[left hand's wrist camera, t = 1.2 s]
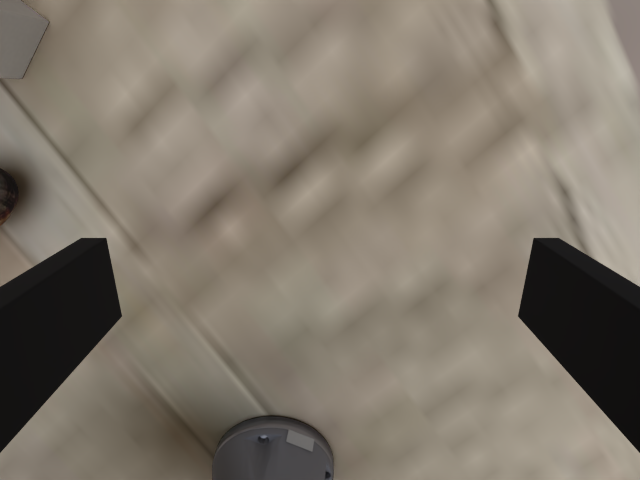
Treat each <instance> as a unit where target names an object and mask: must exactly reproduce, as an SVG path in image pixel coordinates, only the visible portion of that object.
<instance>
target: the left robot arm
mask: <svg viewBox="0 0 640 480" xmlns="http://www.w3.org/2000/svg"><path fill="white" fill-rule="evenodd" d="M121 317H122V314H121V309H120V304H119V299H118V294H117V289H116V284H115V279H114V274H113V269H112V264H111V259H110V254H109V249H108V244H107V239H106V238H81V239H79V240H77V241H76V242H74V243H72V244H71V245H69V246H67V247H66V248H64V249H62V250H61V251H59V252H57V253H56V254H54V255H52V256H51V257H49V258H47V259H46V260H44V261H42V262H41V263H39V264H37V265H36V266H34V267H33V268H31V269H29V270H28V271H26V272H24V273H23V274H21V275H19V276H18V277H16V278H14V279H13V280H11V281H9V282H8V283H6V284H4V285H3V286H1V287H0V452H1V451H2V450H3V449H4V448H5V447H6V446H7V445H8V443H9V442H10V441H11V440H12V439H13V438H14V437H15V436H16V434H17V433H18V432H19V431H20V430H21V429H22V428H23V427H24V425H25V424H26V423H27V422H28V421H29V420H30V419H31V418H32V417H33V415H34V414H35V413H36V412H37V411H38V410H39V409H40V408H41V406H42V405H43V404H44V403H45V402H46V401H47V400H48V399H49V397H50V396H51V395H52V394H53V393H54V392H55V391H56V390H57V388H58V387H59V386H60V385H61V384H62V383H63V382H64V381H65V380H66V378H67V377H68V376H69V375H70V374H71V373H72V372H73V371H74V369H75V368H76V367H77V366H78V365H79V364H80V363H81V362H82V360H83V359H84V358H85V357H86V356H87V355H88V354H89V353H90V351H91V350H92V349H93V348H94V347H95V346H96V345H97V344H98V343H99V341H100V340H101V339H102V338H103V337H104V336H105V335H106V334H107V332H108V331H109V330H110V329H111V328H112V327H113V326H114V325H115V323H116V322H117V321H118V320H119V319H120V318H121ZM518 317H519V318H520V319H521V320H522V321H523V322H524V323H525V325H526V326H527V327H528V328H529V329H530V330H531V331H532V332H533V334H534V335H535V336H536V337H537V338H538V339H539V340H540V341H541V343H542V344H543V345H544V346H545V347H546V348H547V349H548V350H549V351H550V353H551V354H552V355H553V356H554V357H555V358H556V359H557V360H558V362H559V363H560V364H561V365H562V366H563V367H564V368H565V369H566V371H567V372H568V373H569V374H570V375H571V376H572V377H573V378H574V380H575V381H576V382H577V383H578V384H579V385H580V386H581V387H582V388H583V390H584V391H585V392H586V393H587V394H588V395H589V396H590V397H591V399H592V400H593V401H594V402H595V403H596V404H597V405H598V406H599V408H600V409H601V410H602V411H603V412H604V413H605V414H606V415H607V417H608V418H609V419H610V420H611V421H612V422H613V423H614V424H615V426H616V427H617V428H618V429H619V430H620V431H621V432H622V433H623V434H624V436H625V437H626V438H627V439H628V440H629V441H630V442H631V443H632V445H633V446H634V447H635V448H636V449H637V450H638V451H639V452H640V287H639V286H637V285H636V284H634V283H632V282H631V281H629V280H627V279H626V278H624V277H622V276H621V275H619V274H617V273H616V272H614V271H612V270H611V269H609V268H607V267H606V266H604V265H603V264H601V263H599V262H598V261H596V260H594V259H593V258H591V257H589V256H588V255H586V254H584V253H583V252H581V251H579V250H578V249H576V248H574V247H573V246H571V245H569V244H568V243H566V242H564V241H563V240H561V239H559V238H534V239H533V244H532V249H531V254H530V259H529V264H528V269H527V274H526V279H525V284H524V289H523V294H522V299H521V304H520V309H519V314H518ZM333 475H334V470H333V455H332V451H331V449H330V447H329V445H328V443H327V441H326V440H325V439H324V438H323V436H322V435H321V434H319V433H318V432H317V431H316V430H315V429H313V428H312V427H310V426H308V425H306V424H304V423H302V422H299V421H297V420H293V419H290V418H285V417H274V416H269V417H258V418H254V419H250V420H247V421H244V422H242V423H240V424H238V425H236V426H234V427H233V428H232V429H230V430H229V431H228V432H227V433H226V434H225V435H224V436H223V437H222V439H221V440H220V442H219V444H218V446H217V450H216V453H215V456H214V460H213V464H212V477H213V480H333Z"/></svg>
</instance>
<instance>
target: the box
mask: <svg viewBox="0 0 640 480" xmlns="http://www.w3.org/2000/svg"><path fill="white" fill-rule="evenodd" d="M48 24H49V21H48V20H46V19H45V18H44V17H42V16H41V15H40V14H38V13H37V12H36V11H34V10H33V9H32V8H30V7H29V6H28V5H26V4H25V3H24V2H22V1H21V0H0V78H9V79H22V78H23V76H24V73H25V71H26V69H27V67H28V65H29V63H30V61H31V59H32V57H33V55H34V53H35V51H36V49H37V46H38V44H39V42H40V40H41V38H42V36H43V34H44V32H45V30H46V28H47V26H48Z"/></svg>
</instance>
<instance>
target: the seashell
mask: <svg viewBox="0 0 640 480" xmlns="http://www.w3.org/2000/svg"><path fill="white" fill-rule="evenodd" d="M17 200H18V187H17V184H16V182H15V180H14V179H13V178H12V176H11V175H10V174H8V173H7V172H6V171H4V170H2V169H0V226H1V225H2V224H3V223H4V222H5V221H6V220H7V219H8V217H9V216H10V215H11V213H12V212H13V210H14V208H15V206H16V203H17Z"/></svg>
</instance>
